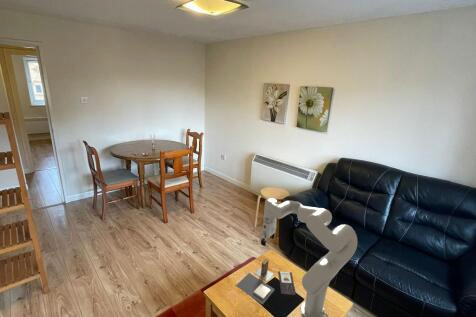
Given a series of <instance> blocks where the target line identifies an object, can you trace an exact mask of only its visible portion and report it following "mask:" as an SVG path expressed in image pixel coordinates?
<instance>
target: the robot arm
mask: <svg viewBox="0 0 476 317" xmlns="http://www.w3.org/2000/svg"><path fill="white" fill-rule="evenodd" d="M263 208H264V209H263V223H262V227H261V234H260V235H259V239H260V245H262V246H263V247H266V244H267V241H266V240H267V239H269V238H271V239H272V240H273V239H274V238H275V233H276V230H277V219H278V220H280V219H283V218H284V217H286V216H288V215H289V214H296V215H297V219H298V220H299V222H301V223H304V224H306V227H307V229H308V230H309V231H310V232H311V233H312V234H313V236H315V238H316V239H317V241H319V242H320V243H321V244H322V245H323V246H324V248H326V249H327V250H328V253H326V254H325V255H324V256H322V257H320V259H319V260H318V261H316V262H315V263H314V264H313V265H312V266H311V267H310V268H309V270H308V271H307V272H306V273H305V274H304V275H303V276H302V279H301V284H302V287H303V289H304V290H305V292H306V296H305V301H304V302H303V303H302V305H301V307H300V309H301V310H300V311H301V314H302V316H303V317H330V316H329V314H328V313H326V312H325V307H324V304H325V300H326V295H327V291H328V287H329V285H330V282H331V281H332V280H333V279H334V278H335V276H336V275H337V274H338V273H339V271H340V270H341V269H342V268H343V267H344V266H345V265H346V264H347V263H348V262H349V261H350V259H352V257H353V256H354V255H355V252H356V250H357V247H358V236H357V233H356V231H355V230H354V229H353V227H352V226H350V225H349V224H340V225H337V226H336V227H334V228H332V230H331V229H330V228H328V226H329V225H330V223H331V222H332V219H333V216H332V215H333V214H332V212H330V210H329V209H326V208H323V207H315V206H314V207H313V206H307V205H303V204H302V203H301V202H299V201H294V200H284V201H282V202H280V203H278V200H277V199H275V198H273V197H268V198H266V199H265V201H264V207H263Z"/></svg>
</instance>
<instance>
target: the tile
mask: <svg viewBox="0 0 476 317" xmlns="http://www.w3.org/2000/svg"><path fill="white" fill-rule="evenodd" d="M270 291H271V290H270V289H269V288H267V287H266V286H264V285H263V284H260V286H259V287H258V288H257V289H256V290H255V291H254V293H255V294H256V295H258V296H259V297H260V298H262V299H264V298H265V297H266V296H267V295H268V294H269V292H270Z"/></svg>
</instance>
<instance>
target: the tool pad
mask: <svg viewBox="0 0 476 317" xmlns="http://www.w3.org/2000/svg"><path fill="white" fill-rule="evenodd" d="M261 267H262V266H260V267H259V268H258V269H257V270H256V271H255V272H254V275H256V276H258V277H259V278H261V279H263V280H264V281H266V282H268V281H269V280H270V279H271V278H272V277H273V276H274V273H273V272H272V271H269V270H268V271H267V273H266V274H265V275H264V276H262V275H261Z"/></svg>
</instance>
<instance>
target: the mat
mask: <svg viewBox="0 0 476 317" xmlns="http://www.w3.org/2000/svg"><path fill="white" fill-rule="evenodd" d="M260 284H263V285H264V286H266V287H267V288H269V289H270V290H271V291H270V292H269V294H268V295H267V296H266V297H265V298H264V299H262V298H260V297H259V296H258V295H256V294H255V293H254V291H255V290H256V289H257V288H258V287H259V286H260ZM235 286H236V287H237V288H238V289H239V290H241V291H243V292H244V293H245V294H247V295H248V296H249V297H251V298H253V299H254V300H255V301H257V302H258V303H260V304H261V305H264V303H266V301H267V300H268V299H269V297H270V296H271V295H272V294H273V293H274V292H275V288H273V287H272V286H270V285H269V284H268V283H265V282H264V281H263V280H261V279H259V278H258V277H256V276H255V275H254V274H252V273H251V272H249V273H247V274H246V275H245V276H244V277H243V278H242V279H241V280H240V281H239V282H238V283H237V284H236V285H235Z"/></svg>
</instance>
